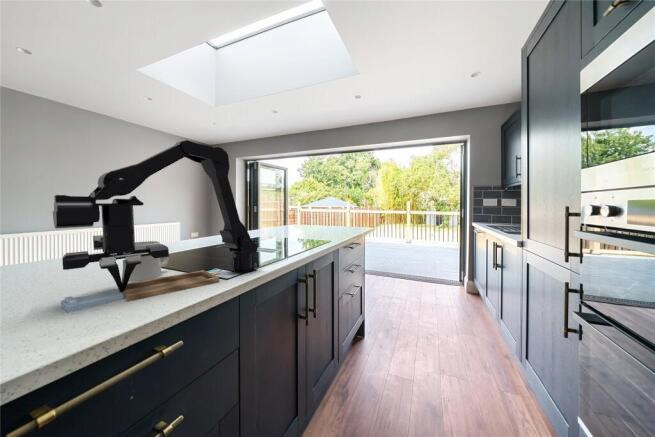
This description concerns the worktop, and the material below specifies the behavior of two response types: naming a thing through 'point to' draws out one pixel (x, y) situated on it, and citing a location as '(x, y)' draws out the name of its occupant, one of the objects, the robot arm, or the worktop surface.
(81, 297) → the blue mattress with pillow
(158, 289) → the brown flat wooden tray
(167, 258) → the mug
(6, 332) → the worktop surface
